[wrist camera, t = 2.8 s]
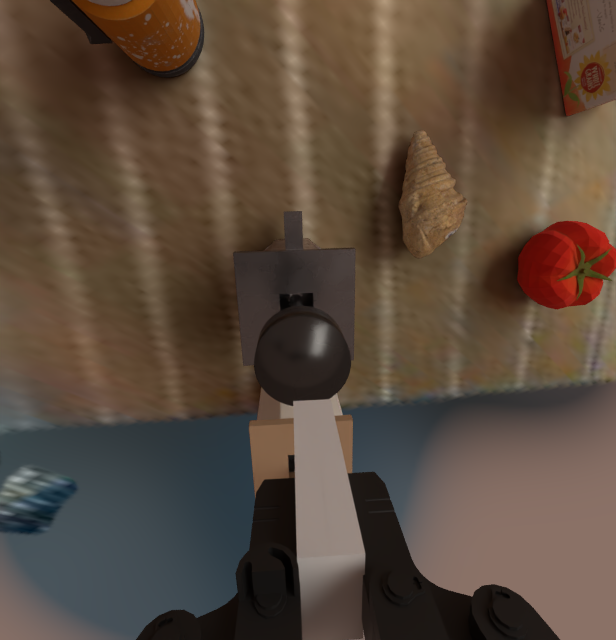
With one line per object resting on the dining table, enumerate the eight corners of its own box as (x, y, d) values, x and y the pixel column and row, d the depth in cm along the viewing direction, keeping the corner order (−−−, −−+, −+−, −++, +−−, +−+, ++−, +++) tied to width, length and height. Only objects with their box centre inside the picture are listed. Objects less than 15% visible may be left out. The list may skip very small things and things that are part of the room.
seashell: (371, 148, 42) (390, 135, 34) (435, 126, 42) (469, 107, 34) (397, 256, 46) (420, 265, 39) (456, 236, 46) (490, 242, 38)
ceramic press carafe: (266, 440, 54) (258, 531, 38) (260, 360, 50) (248, 426, 34) (332, 436, 54) (351, 524, 39) (332, 356, 50) (352, 420, 35)
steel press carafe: (257, 316, 48) (243, 365, 32) (249, 212, 43) (229, 213, 28) (332, 312, 48) (353, 360, 33) (331, 210, 44) (355, 209, 29)
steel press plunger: (262, 332, 36) (245, 421, 21) (257, 263, 34) (234, 306, 19) (331, 329, 36) (363, 415, 21) (330, 261, 34) (366, 301, 19)
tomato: (501, 305, 49) (545, 324, 41) (502, 227, 46) (550, 230, 38) (574, 292, 49) (632, 308, 41) (580, 213, 46) (644, 213, 38)
